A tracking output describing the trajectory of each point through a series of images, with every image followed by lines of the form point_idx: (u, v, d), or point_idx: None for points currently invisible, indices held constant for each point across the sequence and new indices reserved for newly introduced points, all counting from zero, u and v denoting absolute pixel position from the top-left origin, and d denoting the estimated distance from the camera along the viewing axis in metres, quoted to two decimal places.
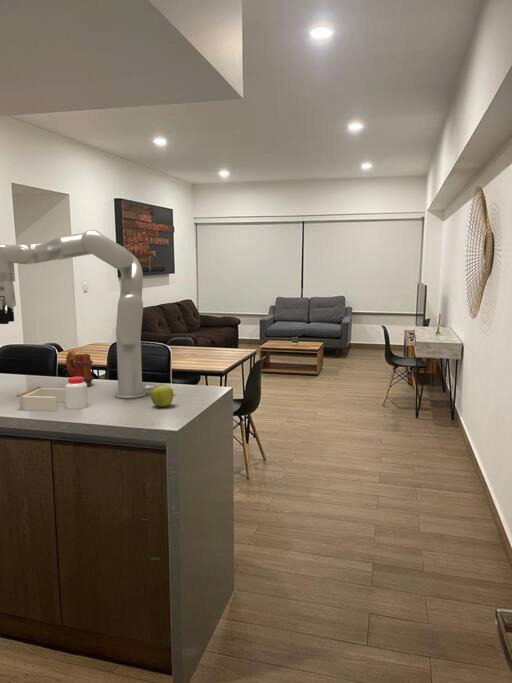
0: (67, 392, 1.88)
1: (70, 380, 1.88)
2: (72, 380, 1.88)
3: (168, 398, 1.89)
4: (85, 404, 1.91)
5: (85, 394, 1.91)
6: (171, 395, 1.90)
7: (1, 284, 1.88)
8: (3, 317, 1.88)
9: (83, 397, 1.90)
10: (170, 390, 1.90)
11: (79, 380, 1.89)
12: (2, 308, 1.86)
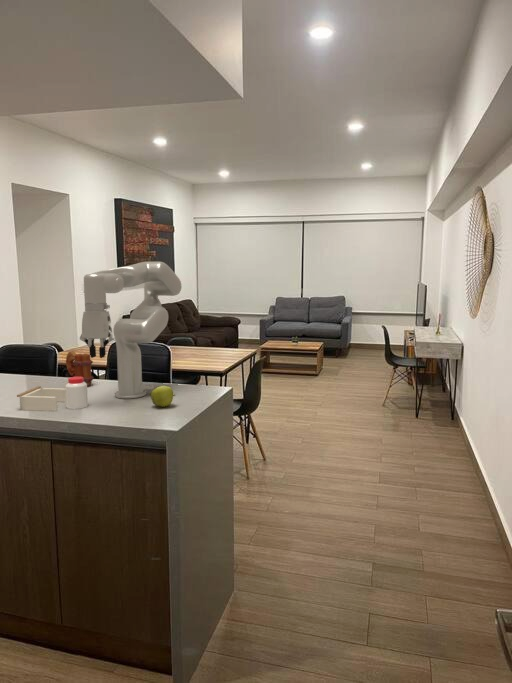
0: (67, 392, 1.88)
1: (70, 380, 1.88)
2: (72, 380, 1.88)
3: (168, 398, 1.89)
4: (85, 404, 1.91)
5: (85, 394, 1.91)
6: (171, 395, 1.90)
7: (108, 314, 1.86)
8: (104, 350, 1.88)
9: (83, 397, 1.90)
10: (170, 390, 1.90)
11: (79, 380, 1.89)
12: (108, 341, 1.88)
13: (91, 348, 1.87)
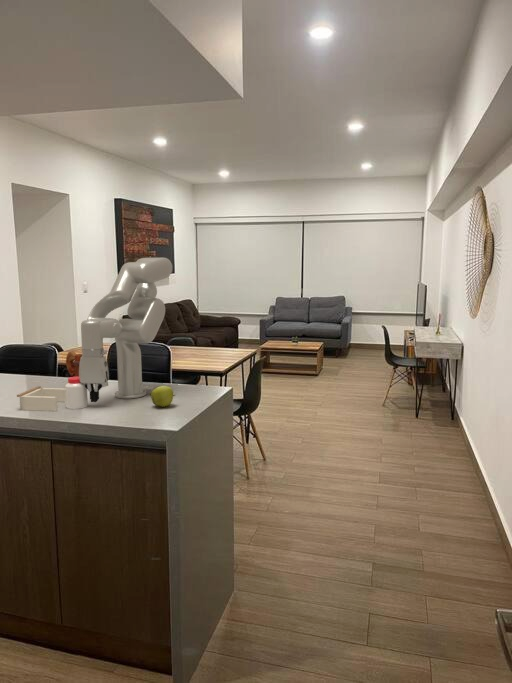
0: (67, 392, 1.88)
1: (70, 380, 1.88)
2: (72, 380, 1.88)
3: (168, 398, 1.89)
4: (85, 404, 1.91)
5: (85, 394, 1.91)
6: (171, 395, 1.90)
7: (104, 359, 1.88)
8: (98, 394, 1.91)
9: (83, 397, 1.90)
10: (170, 390, 1.90)
11: None
12: None
13: (91, 393, 1.89)
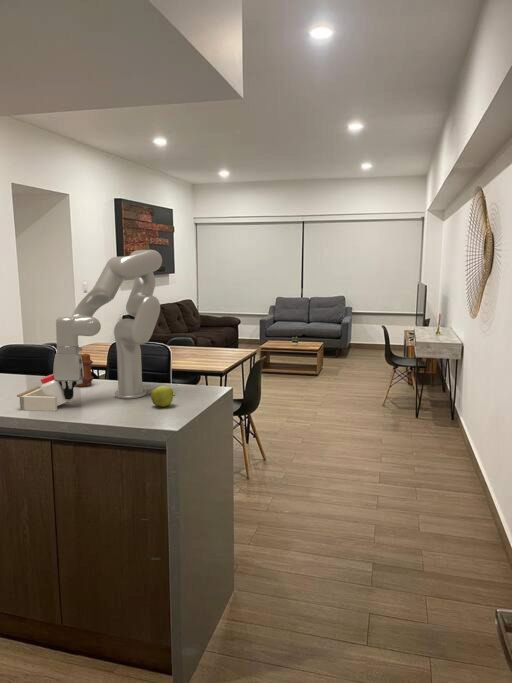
0: (44, 392, 1.88)
1: (42, 380, 1.88)
2: (44, 379, 1.88)
3: (168, 398, 1.89)
4: None
5: (62, 389, 1.90)
6: (171, 395, 1.90)
7: (79, 357, 1.89)
8: (72, 392, 1.91)
9: (61, 392, 1.89)
10: (170, 390, 1.90)
11: (51, 377, 1.88)
12: None
13: (66, 390, 1.89)
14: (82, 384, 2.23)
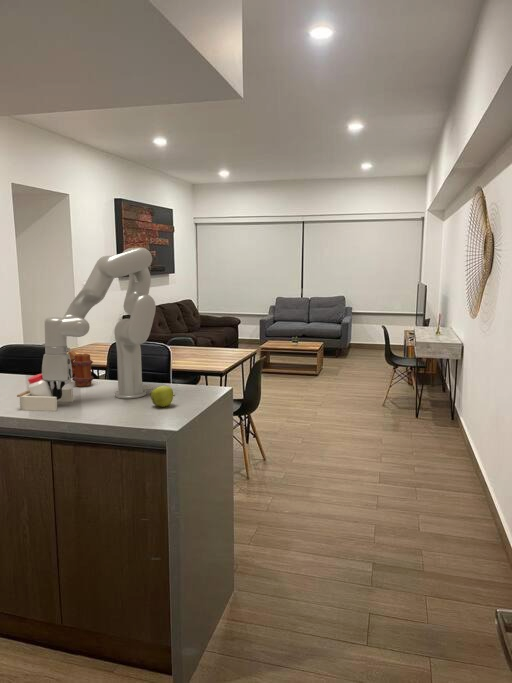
0: (32, 392, 1.88)
1: (31, 380, 1.88)
2: (33, 379, 1.88)
3: (168, 398, 1.89)
4: None
5: (50, 388, 1.91)
6: (171, 395, 1.90)
7: (68, 357, 1.89)
8: (61, 392, 1.91)
9: (49, 392, 1.90)
10: (170, 390, 1.90)
11: (39, 377, 1.89)
12: None
13: (54, 390, 1.90)
14: (82, 384, 2.23)
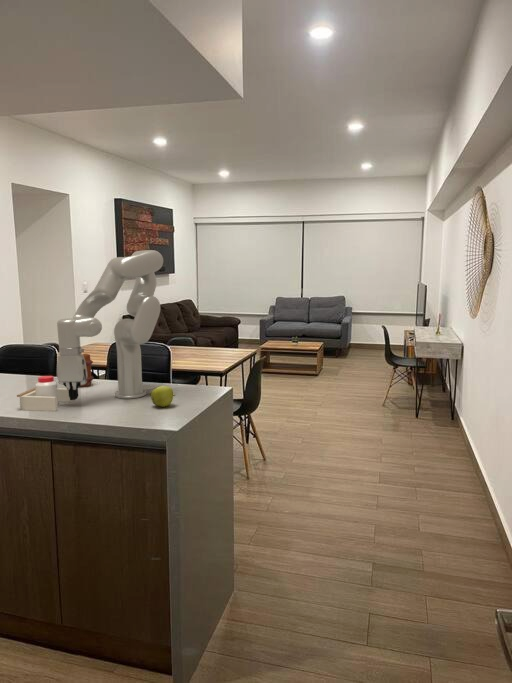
0: (38, 391, 1.89)
1: (41, 379, 1.89)
2: (43, 379, 1.89)
3: (168, 398, 1.89)
4: None
5: (56, 393, 1.92)
6: (171, 395, 1.90)
7: (82, 358, 1.90)
8: (77, 392, 1.92)
9: (54, 396, 1.91)
10: (170, 390, 1.90)
11: (50, 379, 1.90)
12: None
13: (70, 391, 1.91)
14: None
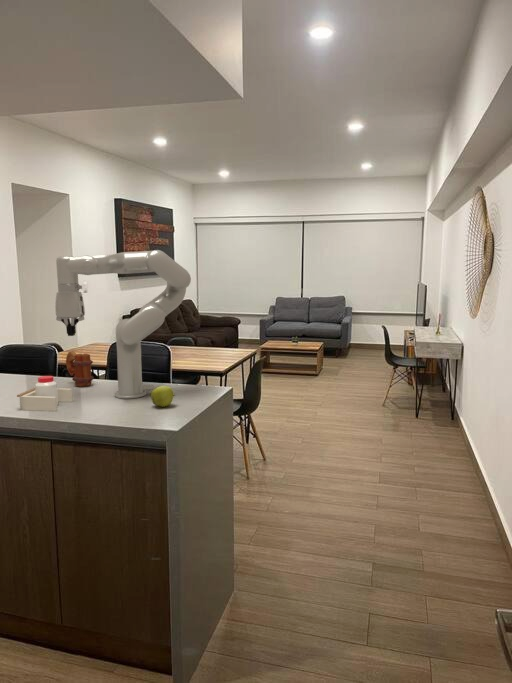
0: (38, 391, 1.89)
1: (41, 379, 1.89)
2: (43, 379, 1.89)
3: (168, 398, 1.89)
4: None
5: (56, 393, 1.92)
6: (171, 395, 1.90)
7: (80, 294, 1.96)
8: (74, 329, 1.99)
9: (54, 396, 1.91)
10: (170, 390, 1.90)
11: (50, 379, 1.90)
12: (78, 320, 1.98)
13: (68, 327, 1.97)
14: (82, 384, 2.23)
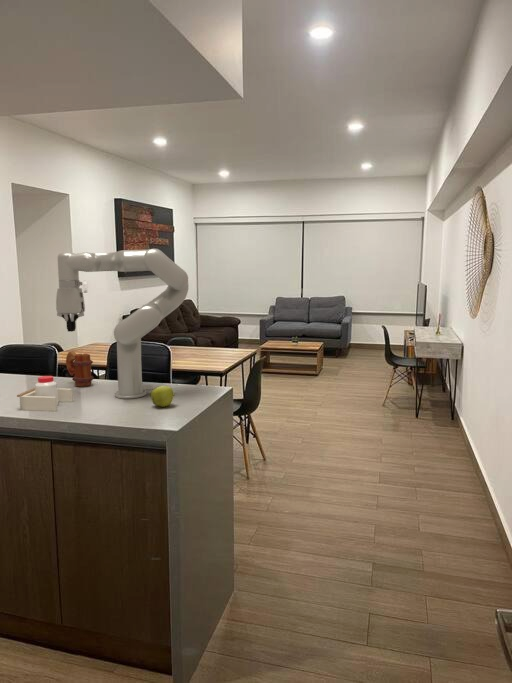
0: (38, 391, 1.89)
1: (41, 379, 1.89)
2: (43, 379, 1.89)
3: (168, 398, 1.89)
4: None
5: (56, 393, 1.92)
6: (171, 395, 1.90)
7: (80, 291, 1.99)
8: (74, 324, 2.02)
9: (54, 396, 1.91)
10: (170, 390, 1.90)
11: (50, 379, 1.90)
12: (78, 316, 2.02)
13: (68, 322, 2.00)
14: (82, 384, 2.23)
